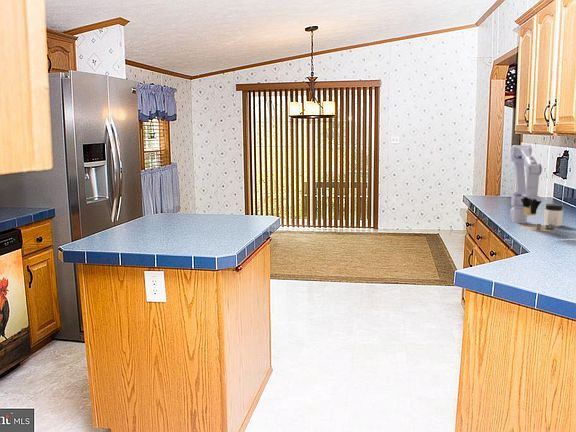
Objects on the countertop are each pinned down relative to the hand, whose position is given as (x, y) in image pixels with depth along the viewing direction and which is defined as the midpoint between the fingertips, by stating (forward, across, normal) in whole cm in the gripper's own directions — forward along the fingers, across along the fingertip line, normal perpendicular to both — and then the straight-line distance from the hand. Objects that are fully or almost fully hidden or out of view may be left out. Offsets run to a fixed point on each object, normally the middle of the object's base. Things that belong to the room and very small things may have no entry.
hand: (529, 212), depth 282 cm
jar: (+9, -5, +18) cm, 20 cm away
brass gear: (+1, 0, 0) cm, 1 cm away
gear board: (+9, +3, +4) cm, 10 cm away
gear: (+8, +7, +8) cm, 13 cm away
